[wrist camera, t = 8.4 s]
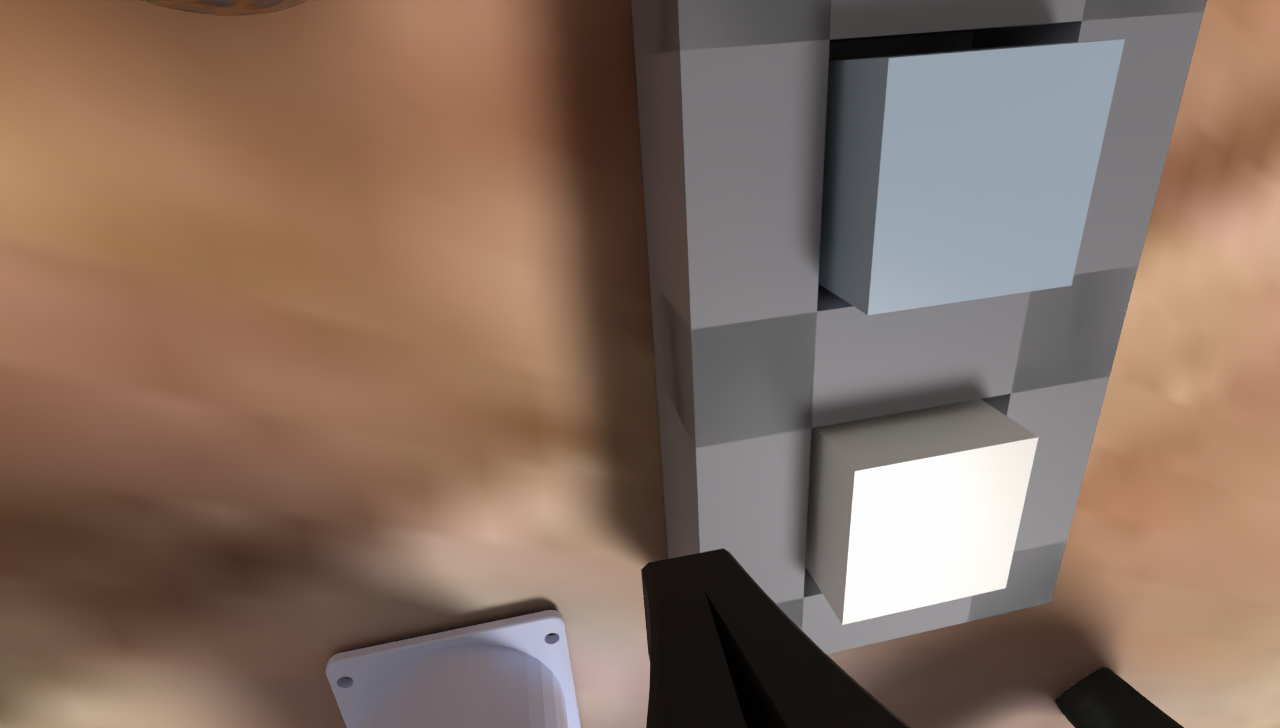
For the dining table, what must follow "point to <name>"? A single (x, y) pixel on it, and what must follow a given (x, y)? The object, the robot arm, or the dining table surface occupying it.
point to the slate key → (960, 171)
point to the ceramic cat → (1110, 705)
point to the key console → (831, 327)
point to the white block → (915, 507)
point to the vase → (227, 6)
